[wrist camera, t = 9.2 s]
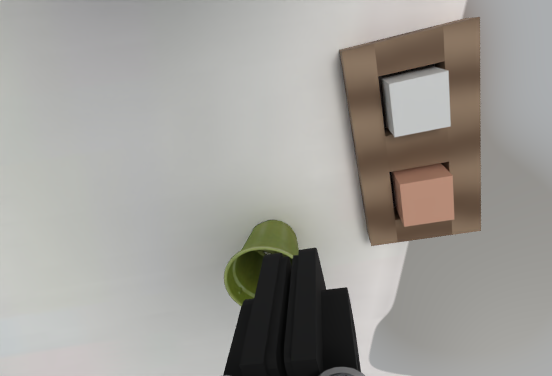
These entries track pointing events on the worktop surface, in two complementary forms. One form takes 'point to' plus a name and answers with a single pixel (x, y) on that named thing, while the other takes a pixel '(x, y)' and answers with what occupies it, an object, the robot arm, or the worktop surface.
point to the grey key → (417, 101)
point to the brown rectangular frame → (424, 145)
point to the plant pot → (257, 257)
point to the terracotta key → (424, 194)
